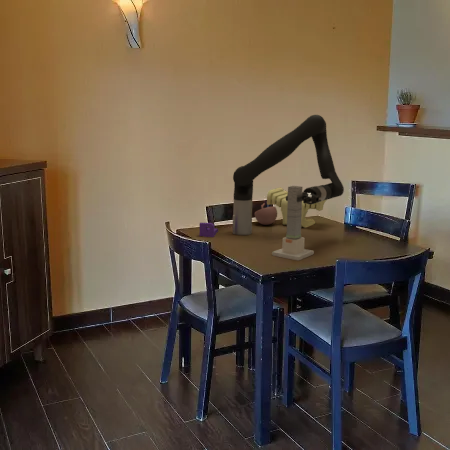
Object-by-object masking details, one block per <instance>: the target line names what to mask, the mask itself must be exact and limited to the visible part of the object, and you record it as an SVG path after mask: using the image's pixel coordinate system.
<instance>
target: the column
mask: <svg viewBox="0 0 450 450" xmlns="http://www.w3.org/2000/svg"><path fill="white" fill-rule="evenodd" d="M287 192H288V205H287V225H286V235H285V237H287V238H290V239H298V238H301V237H302V227H301V216H302V192H303V186H300V185H290V186H288V187H287Z"/></svg>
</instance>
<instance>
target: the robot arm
mask: <svg viewBox="0 0 450 450" xmlns="http://www.w3.org/2000/svg"><path fill="white" fill-rule="evenodd" d="M327 132H328V131H327V122H326V121H325V118H324V117H323V116H322V115H319V114H313V115H310V116H308V117H307V118H306V119H305V120H304V121H303V122H301V123H300V125H298V126H297V127H296V128H294V129H293V130H292V131H290V132H288V133H287V134H285V135H283V136H282V137H281V138H279V139H277V140H276V141H275V142H273V143H271V144H270V145H269V146H268V147H266V148H265V149H264V150H263V151H262V152H261V153H260V154H258V155H257V157H255V158H254V159H253V160H251V161H249V162H248V163H246V164H245V165H241V166H239V167H237V168H236V169H235V171H234V172H233V176H232V180H233V182H234V186H233V187H234V189H233V213H232V214H233V215H232V234H233V235H237V236H248V235H251V234H252V232H253V193H254V180H255V179H256V178H257V177H259V175H262V174H263V173H265V171H268V170H269V169H272V168H273V167H275V166H276V165H277V164H279V163H281V162H282V161H284V160H285V159H287V158H288V157H290V156H291V155H292V154H293V153H294V152H295V151H296V150H297V148H299V147H300V145H302V144H303V143H304V142H305V141H307V140H308V139H310V138H311V139H312V142H313V144H314V148H315V153H316V160H317V165H318V170H319V173H320V176H321V177H320V178H321V179H322V180H330V181H331V182H329V183H326V184H322V185H314V186H310V187H306V188H305V189H304V190H302V201H303V203H307V204H310V205H311V204H315V203H319V202H321V201H324V200H326V201H328V200H330V199H331V200H332V199H335V198H338V197H341V196H342V195H343V194H344V192H345V191H344V190H345V189H344V188H345V187H344V185H343V183H342V181H341V179H340V177H339V176H338V174H337V172H336V168H335V165H334V164H335V163H334V160H333V158H332V154H331V150H330V147H329V142H328V136H327V135H328V134H327ZM327 199H328V200H327ZM286 201H288V194H287V196H286Z"/></svg>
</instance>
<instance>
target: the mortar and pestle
mask: <svg viewBox="0 0 450 450" xmlns="http://www.w3.org/2000/svg"><path fill="white" fill-rule="evenodd" d="M264 206H266V203H265V202H263V203H262V204H260V209H258V210H256V211H255V212H254V218H255V219H256V221H257V223H259V224H260V225H264V226H267V225H272V224H273V223H274V222H275V221H276V220H277V218H278V210H277V207H276V206H275V205H274V206H273V205H271V206H267V207H264Z"/></svg>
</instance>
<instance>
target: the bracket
mask: <svg viewBox="0 0 450 450" xmlns="http://www.w3.org/2000/svg"><path fill="white" fill-rule="evenodd" d="M217 232H218V233H219V228H215V224H214V223H212V222H199V237H200V236H204V238H215V236H217V234H218V233H217ZM216 233H217V234H216Z"/></svg>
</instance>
